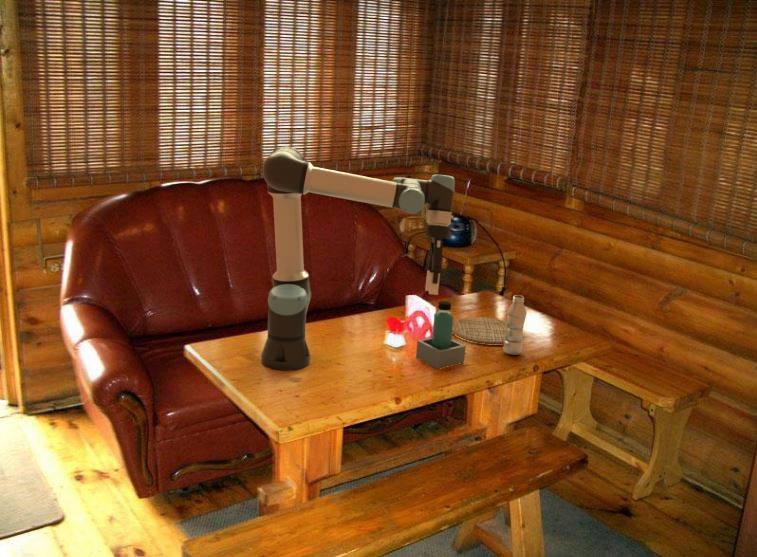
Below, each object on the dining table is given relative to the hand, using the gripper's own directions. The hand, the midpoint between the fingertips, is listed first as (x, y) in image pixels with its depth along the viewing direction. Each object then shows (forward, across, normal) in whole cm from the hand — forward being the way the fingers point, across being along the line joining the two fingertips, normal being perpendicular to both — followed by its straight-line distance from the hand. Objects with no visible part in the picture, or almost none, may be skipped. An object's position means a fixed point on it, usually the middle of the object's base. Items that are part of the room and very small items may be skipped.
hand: (431, 292), depth 256 cm
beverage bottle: (+22, +7, -6) cm, 24 cm away
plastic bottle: (+19, +16, -31) cm, 40 cm away
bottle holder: (+22, +7, -6) cm, 24 cm away
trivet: (+15, +35, -24) cm, 45 cm away
